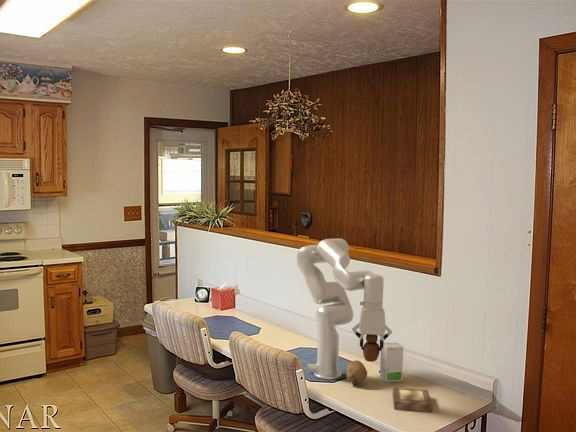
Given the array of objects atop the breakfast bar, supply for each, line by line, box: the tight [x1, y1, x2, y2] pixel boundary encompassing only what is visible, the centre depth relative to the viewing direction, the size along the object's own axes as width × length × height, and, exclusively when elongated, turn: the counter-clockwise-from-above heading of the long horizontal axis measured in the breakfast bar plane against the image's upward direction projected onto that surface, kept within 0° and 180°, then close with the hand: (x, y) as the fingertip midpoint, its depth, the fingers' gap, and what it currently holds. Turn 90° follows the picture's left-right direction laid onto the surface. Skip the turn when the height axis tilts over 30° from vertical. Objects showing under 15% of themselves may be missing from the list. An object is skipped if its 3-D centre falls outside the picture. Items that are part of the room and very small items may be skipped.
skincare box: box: [379, 342, 404, 383], centre depth 239 cm, size 8×7×16 cm
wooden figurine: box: [362, 334, 381, 363], centre depth 218 cm, size 7×6×15 cm
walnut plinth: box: [392, 387, 433, 413], centre depth 215 cm, size 14×14×3 cm
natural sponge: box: [345, 360, 368, 385], centre depth 234 cm, size 9×9×10 cm
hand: (371, 348), depth 218 cm, fingers closed on wooden figurine, 6 cm apart
